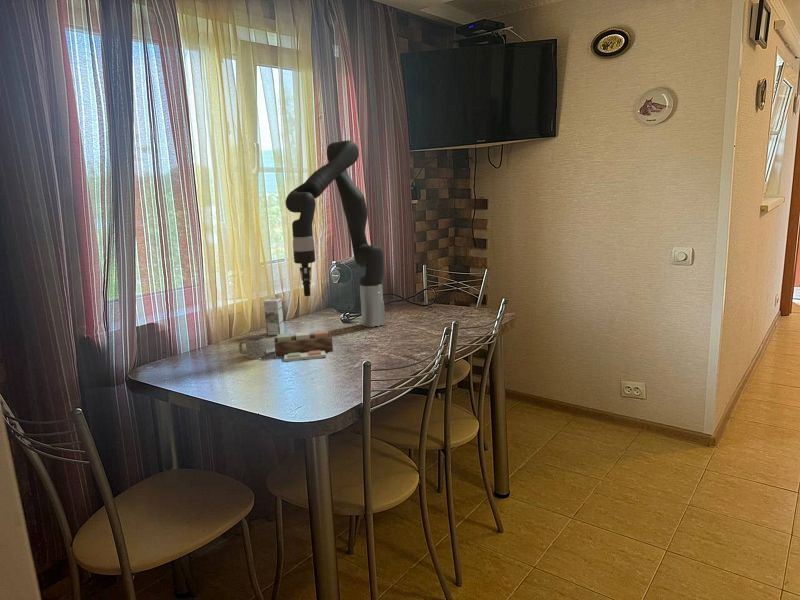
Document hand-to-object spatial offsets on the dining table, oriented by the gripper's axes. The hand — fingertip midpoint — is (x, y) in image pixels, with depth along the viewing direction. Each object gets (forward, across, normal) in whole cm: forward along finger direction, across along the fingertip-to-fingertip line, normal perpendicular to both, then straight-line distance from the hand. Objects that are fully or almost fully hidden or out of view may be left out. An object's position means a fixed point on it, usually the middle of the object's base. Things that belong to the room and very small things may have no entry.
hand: (307, 294), depth 207 cm
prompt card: (+20, -13, +2) cm, 24 cm away
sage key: (+16, -5, +9) cm, 19 cm away
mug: (+20, -5, +21) cm, 29 cm away
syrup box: (+20, +24, +14) cm, 34 cm away
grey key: (+16, -5, +3) cm, 17 cm away
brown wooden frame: (+20, -5, +3) cm, 21 cm away
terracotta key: (+16, -4, -4) cm, 17 cm away
